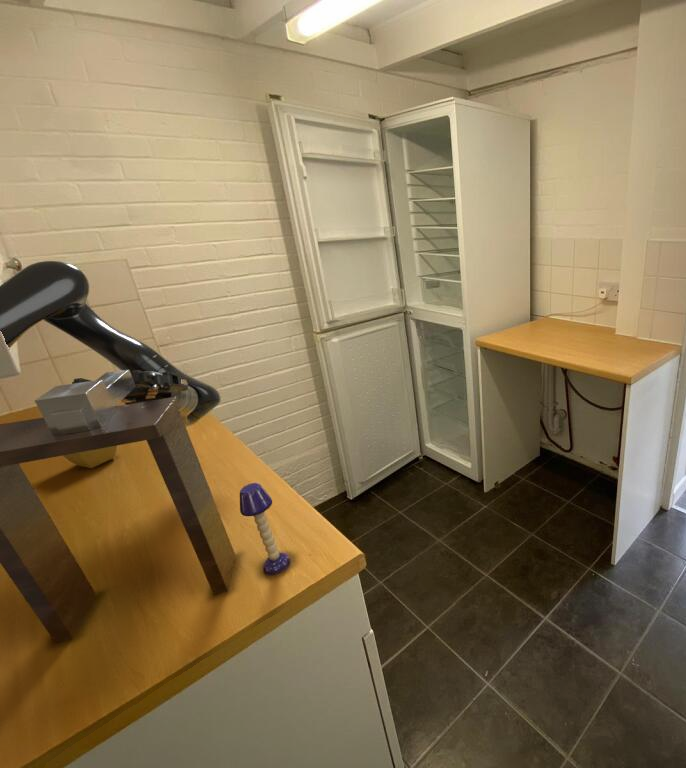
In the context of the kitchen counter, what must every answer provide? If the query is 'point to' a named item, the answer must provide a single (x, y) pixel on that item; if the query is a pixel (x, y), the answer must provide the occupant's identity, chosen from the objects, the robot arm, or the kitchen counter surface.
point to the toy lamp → (263, 525)
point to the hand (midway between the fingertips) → (107, 380)
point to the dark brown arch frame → (43, 540)
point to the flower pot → (92, 457)
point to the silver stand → (84, 402)
